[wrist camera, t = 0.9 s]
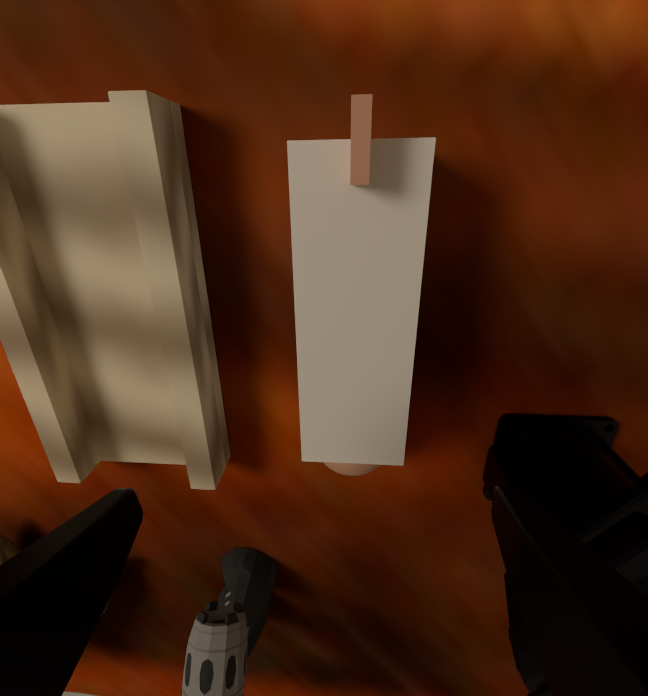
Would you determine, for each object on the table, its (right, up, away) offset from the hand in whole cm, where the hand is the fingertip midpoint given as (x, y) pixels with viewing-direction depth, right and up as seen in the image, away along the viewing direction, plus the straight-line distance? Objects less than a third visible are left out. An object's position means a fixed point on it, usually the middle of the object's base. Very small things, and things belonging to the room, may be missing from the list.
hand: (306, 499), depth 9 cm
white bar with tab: (+2, +6, +11) cm, 13 cm away
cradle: (-11, +6, +12) cm, 17 cm away
